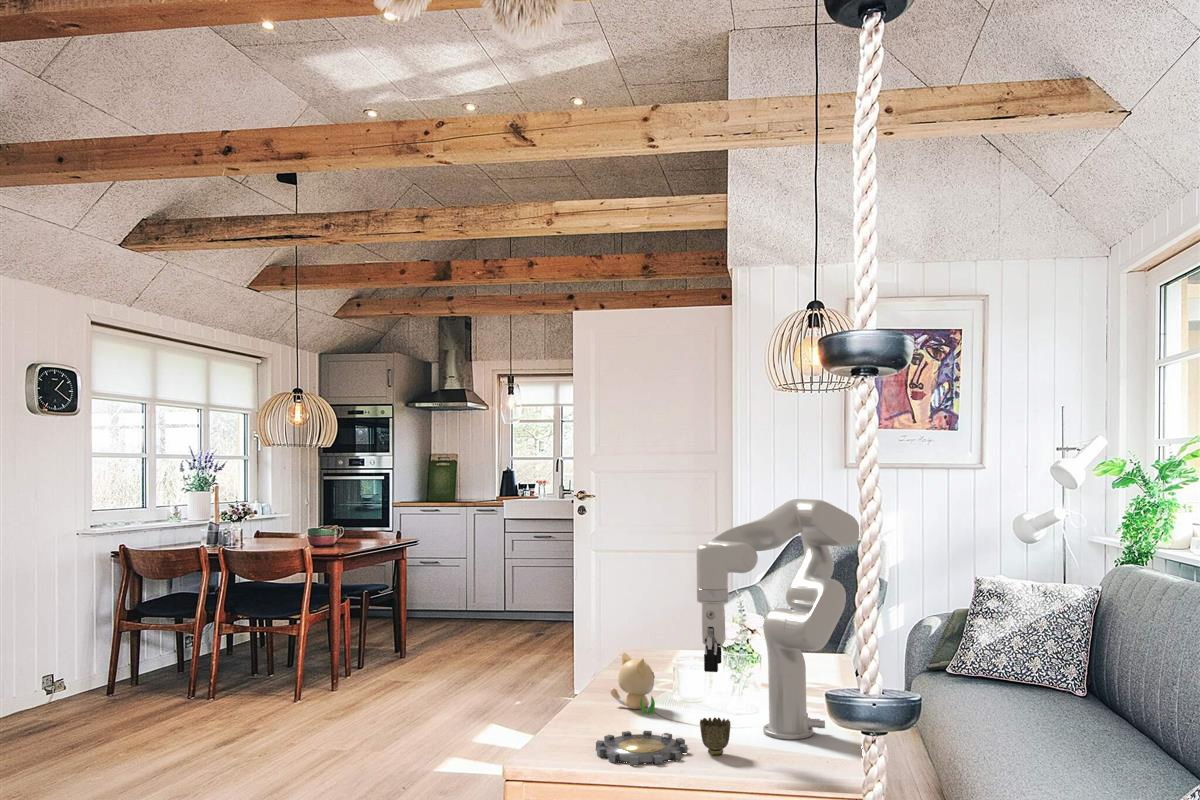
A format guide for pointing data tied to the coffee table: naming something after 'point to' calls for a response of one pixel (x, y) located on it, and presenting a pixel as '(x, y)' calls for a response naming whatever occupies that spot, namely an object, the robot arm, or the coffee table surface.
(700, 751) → the coffee table surface
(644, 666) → the kitten
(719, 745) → the cup
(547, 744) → the coffee table surface
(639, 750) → the gear
